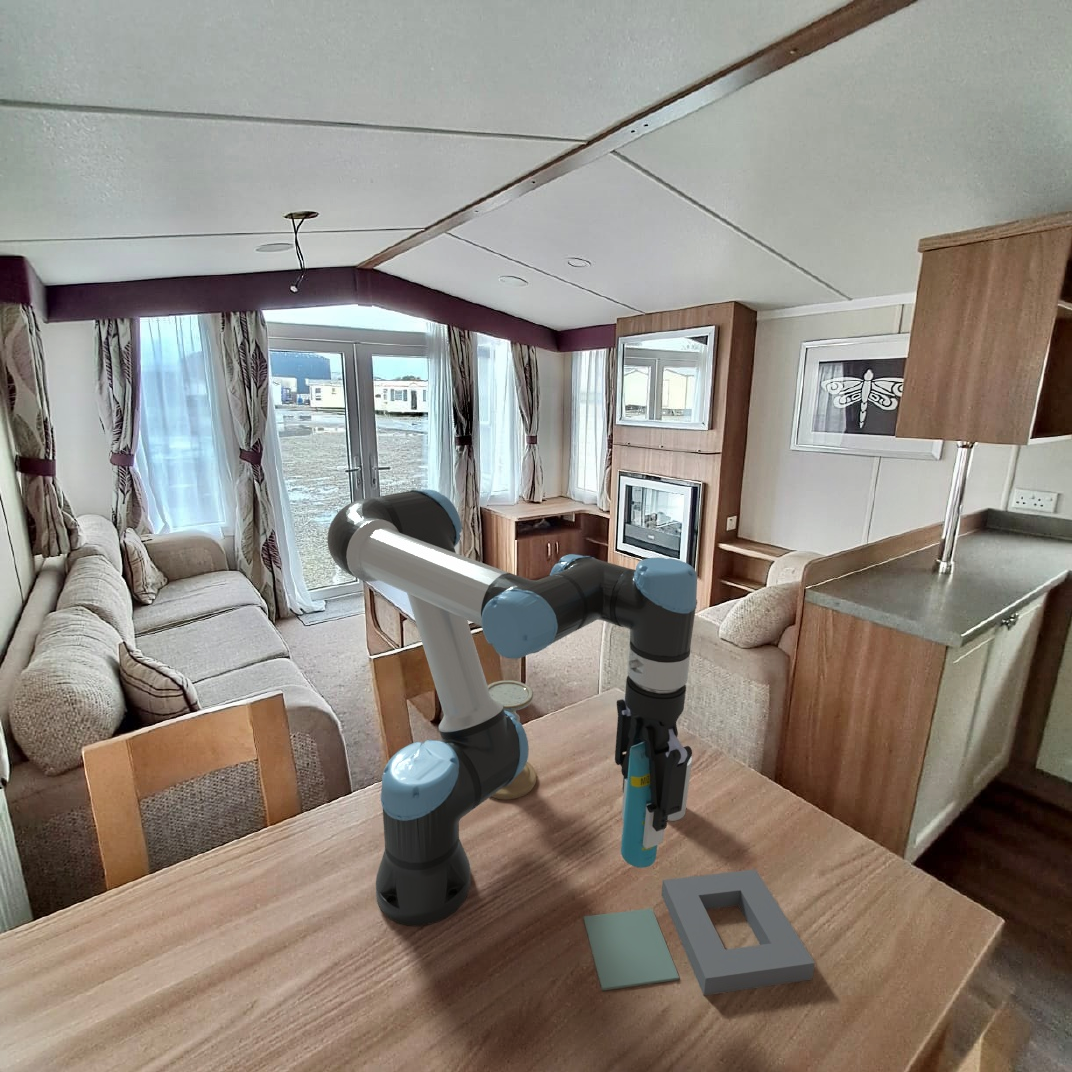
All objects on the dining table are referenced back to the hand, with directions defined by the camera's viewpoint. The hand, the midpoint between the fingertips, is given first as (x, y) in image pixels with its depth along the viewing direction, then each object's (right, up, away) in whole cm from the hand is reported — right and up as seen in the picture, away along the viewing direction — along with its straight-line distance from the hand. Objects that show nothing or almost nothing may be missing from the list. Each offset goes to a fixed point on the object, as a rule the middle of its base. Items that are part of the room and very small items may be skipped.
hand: (641, 829), depth 80 cm
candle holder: (-21, -10, +40) cm, 46 cm away
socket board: (+15, -19, +7) cm, 25 cm away
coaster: (-1, -20, +5) cm, 20 cm away
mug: (+11, -12, +34) cm, 38 cm away
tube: (0, -4, +1) cm, 4 cm away
